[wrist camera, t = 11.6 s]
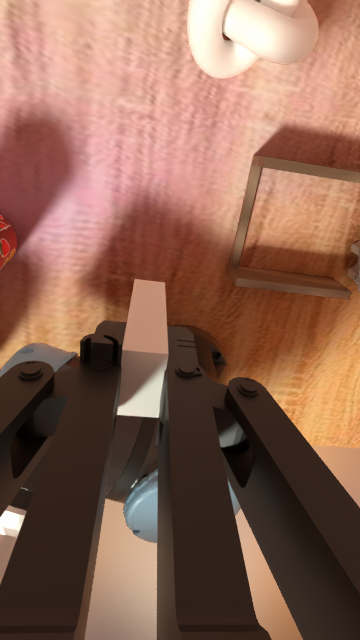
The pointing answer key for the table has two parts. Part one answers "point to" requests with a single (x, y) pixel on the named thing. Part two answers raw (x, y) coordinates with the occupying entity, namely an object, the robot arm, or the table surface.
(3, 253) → the smoothie
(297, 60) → the white knot sculpture
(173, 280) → the table surface
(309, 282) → the brown u-shaped frame
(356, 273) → the egg carton
